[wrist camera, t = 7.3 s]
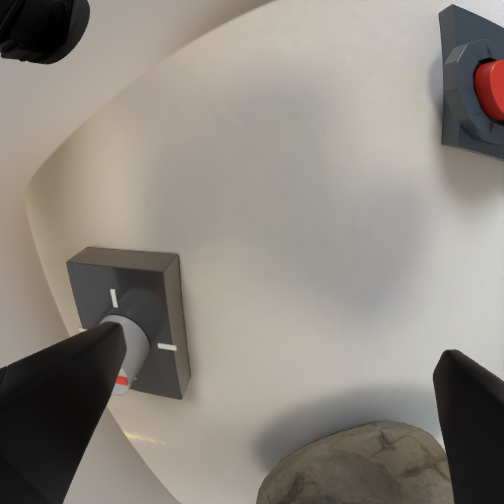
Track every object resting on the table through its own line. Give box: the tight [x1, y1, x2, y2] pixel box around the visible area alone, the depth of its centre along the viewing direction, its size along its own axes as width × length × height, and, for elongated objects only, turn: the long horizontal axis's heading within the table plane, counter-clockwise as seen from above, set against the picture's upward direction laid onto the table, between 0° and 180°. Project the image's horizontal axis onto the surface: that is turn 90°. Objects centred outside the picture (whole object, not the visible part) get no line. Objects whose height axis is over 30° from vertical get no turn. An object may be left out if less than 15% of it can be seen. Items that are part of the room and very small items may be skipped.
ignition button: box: [474, 60, 504, 121], centre depth 11 cm, size 4×4×2 cm
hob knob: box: [98, 315, 150, 396], centre depth 19 cm, size 4×4×4 cm
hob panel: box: [66, 247, 191, 400], centre depth 22 cm, size 12×9×3 cm
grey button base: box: [439, 4, 504, 161], centre depth 12 cm, size 10×10×4 cm
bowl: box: [256, 421, 454, 504], centre depth 21 cm, size 22×22×15 cm
